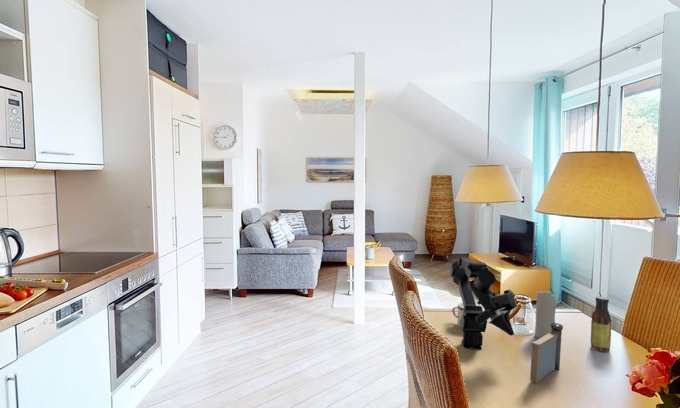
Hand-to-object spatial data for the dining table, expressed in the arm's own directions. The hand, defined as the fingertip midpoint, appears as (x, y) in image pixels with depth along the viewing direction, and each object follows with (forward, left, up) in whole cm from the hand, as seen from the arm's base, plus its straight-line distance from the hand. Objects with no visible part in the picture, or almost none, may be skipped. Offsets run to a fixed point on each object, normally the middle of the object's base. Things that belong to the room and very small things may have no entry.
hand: (512, 334), depth 125 cm
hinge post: (+15, +4, -12) cm, 19 cm away
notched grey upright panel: (+22, +32, -12) cm, 41 cm away
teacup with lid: (-11, +35, -12) cm, 39 cm away
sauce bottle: (+37, +23, -12) cm, 46 cm away
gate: (+9, -3, -11) cm, 15 cm away
